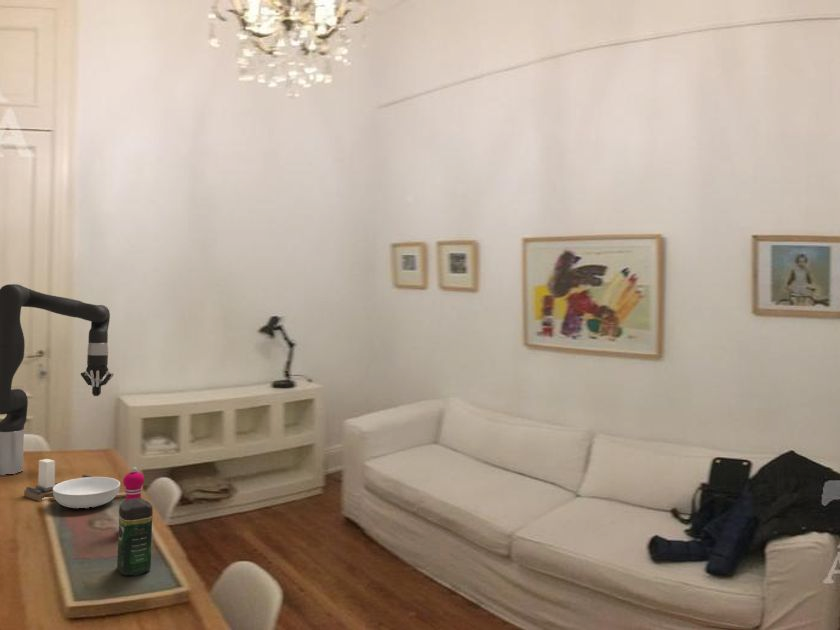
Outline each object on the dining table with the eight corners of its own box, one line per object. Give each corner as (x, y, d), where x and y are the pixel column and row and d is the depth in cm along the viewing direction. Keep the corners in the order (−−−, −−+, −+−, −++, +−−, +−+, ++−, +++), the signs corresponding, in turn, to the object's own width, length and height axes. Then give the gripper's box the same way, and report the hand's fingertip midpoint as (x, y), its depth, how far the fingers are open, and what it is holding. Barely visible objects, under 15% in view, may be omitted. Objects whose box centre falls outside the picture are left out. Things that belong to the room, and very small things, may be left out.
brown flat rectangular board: (83, 482, 246) (83, 473, 246) (99, 486, 241) (99, 478, 240) (24, 496, 227) (24, 487, 227) (39, 501, 222) (39, 492, 222)
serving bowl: (50, 517, 207) (50, 496, 207) (53, 498, 225) (54, 479, 225) (120, 510, 216) (121, 490, 216) (118, 492, 235) (119, 474, 235)
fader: (47, 485, 232) (48, 458, 232) (57, 488, 229) (58, 460, 229) (35, 488, 228) (36, 460, 228) (44, 491, 225) (45, 463, 225)
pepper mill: (135, 536, 194) (137, 471, 194) (114, 533, 195) (116, 469, 195) (149, 528, 201) (151, 465, 201) (129, 525, 203) (131, 463, 202)
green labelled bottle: (154, 572, 170) (156, 503, 169) (122, 579, 165) (124, 508, 164) (145, 559, 177) (147, 493, 177) (114, 566, 173) (116, 498, 172)
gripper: (76, 353, 257) (75, 396, 257) (109, 355, 257) (107, 397, 257) (86, 352, 264) (85, 393, 265) (118, 353, 264) (116, 395, 265)
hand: (96, 395), depth 261 cm, fingers closed
